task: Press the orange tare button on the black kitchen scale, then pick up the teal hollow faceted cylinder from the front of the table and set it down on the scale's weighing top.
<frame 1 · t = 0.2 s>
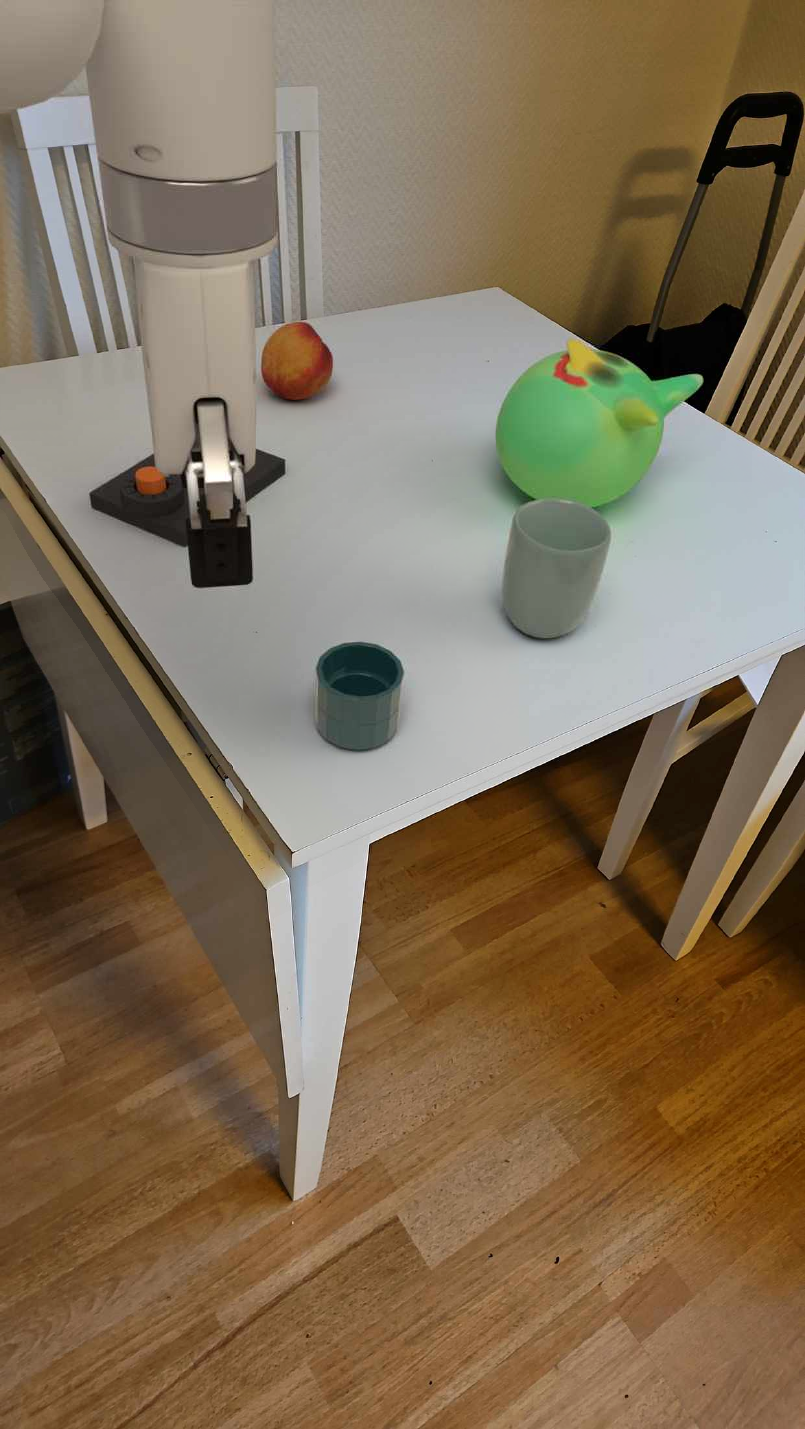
hand: (215, 531, 54), 20 cm above the table, tool pointing down, fingers open, 9 cm apart
fruit: (297, 397, 109), on the table
toy bird: (570, 494, 98), on the table
tare button: (150, 481, 87), point 4 cm above the table, slide at 0.1 cm
teal hollow faceted cylinder: (356, 724, 72), on the table
cup: (539, 624, 83), on the table
scale: (192, 490, 93), on the table
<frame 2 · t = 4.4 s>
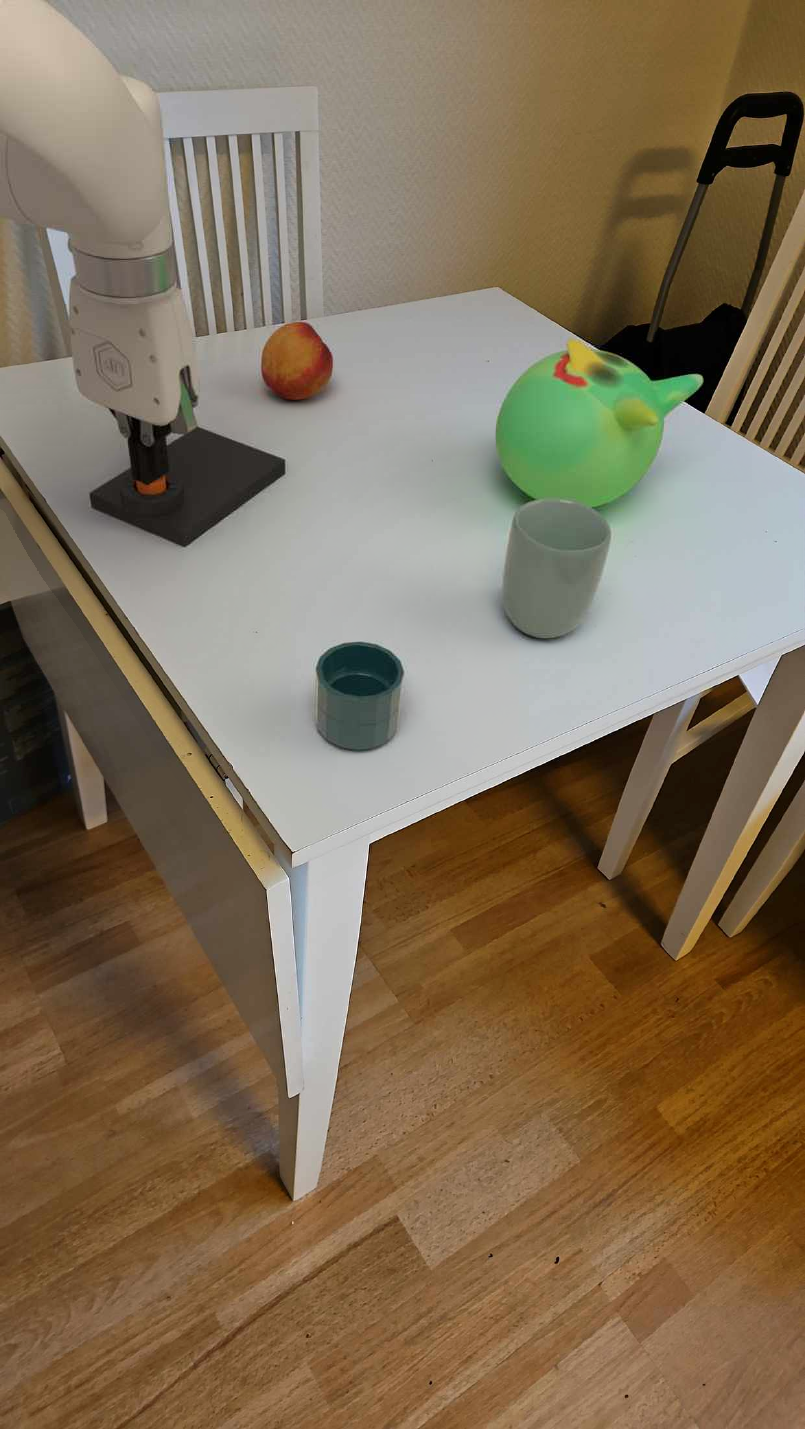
hand: (151, 475, 87), 4 cm above the table, tool pointing down, fingers closed
tare button: (151, 484, 87), point 3 cm above the table, slide at -0.2 cm, touching gripper
everything else where it was.
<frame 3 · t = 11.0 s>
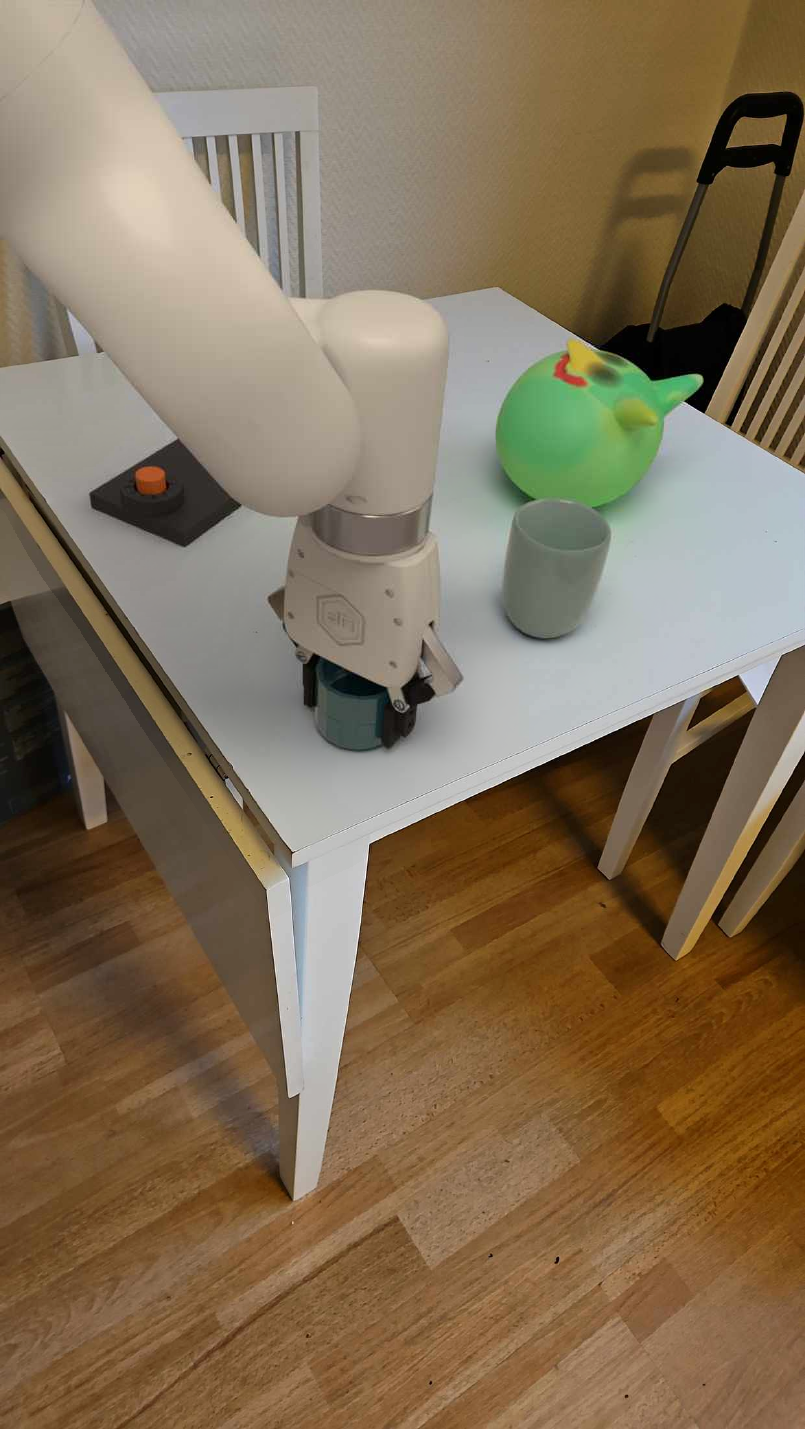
hand: (357, 714, 71), 1 cm above the table, tool pointing down, fingers closed on teal hollow faceted cylinder, 6 cm apart
tare button: (150, 481, 87), point 4 cm above the table, slide at 0.1 cm
teal hollow faceted cylinder: (356, 724, 72), on the table, touching gripper
everything else where it was.
when the fingers open (3 cm above the table, at t = 19.3 s): teal hollow faceted cylinder stays where it is, resting on scale.
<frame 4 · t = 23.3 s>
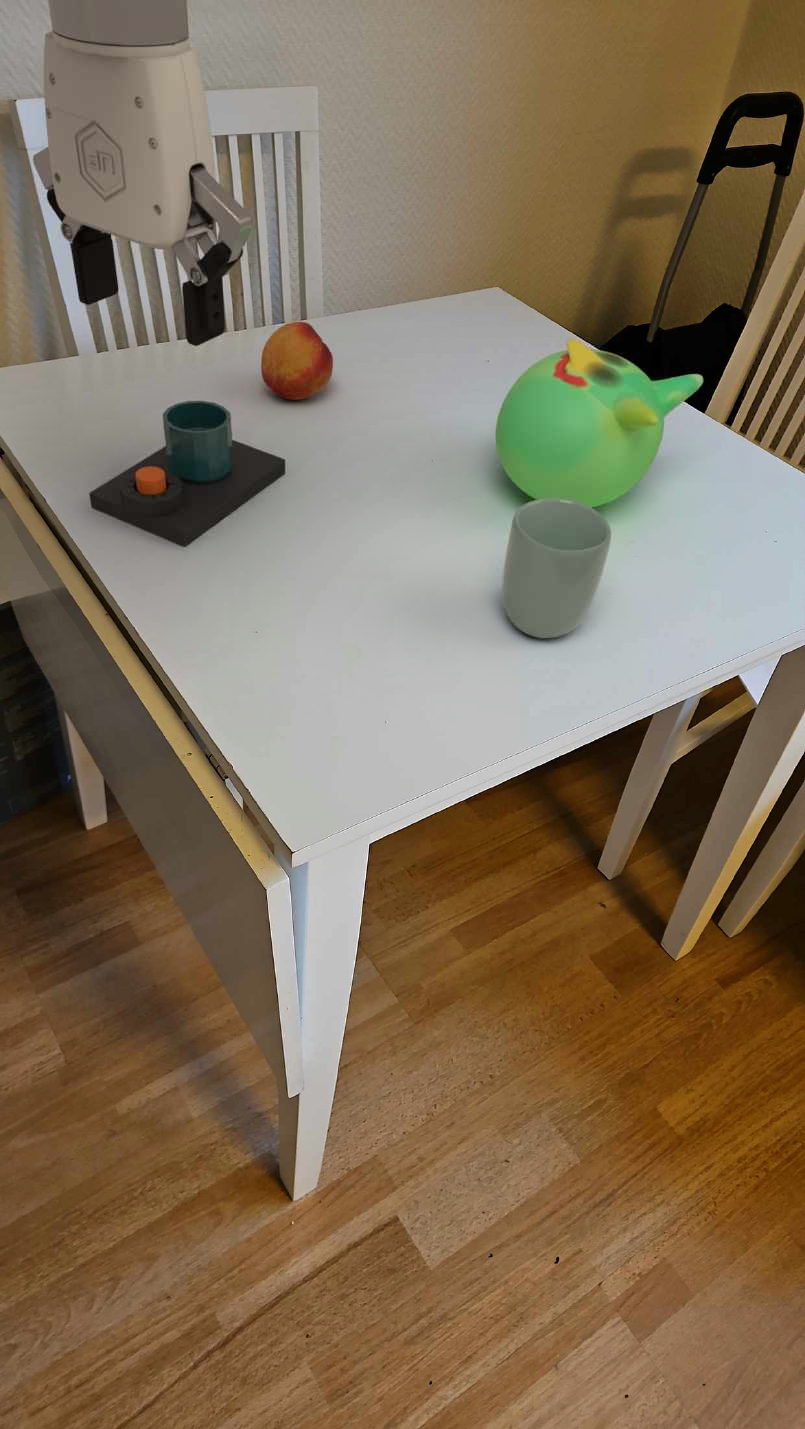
hand: (151, 318, 66), 23 cm above the table, tool pointing down, fingers open, 9 cm apart
teal hollow faceted cylinder: (201, 468, 93), point 2 cm above the table, touching scale
everything else where it was.
at the end: tare button pushed in 0.9 cm at the most during the clip, back to where it started at the end; teal hollow faceted cylinder inside the target area on the scale (0.9 cm from its centre), point 1.6 cm above the scale's base; teal hollow faceted cylinder tilted 0° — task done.
